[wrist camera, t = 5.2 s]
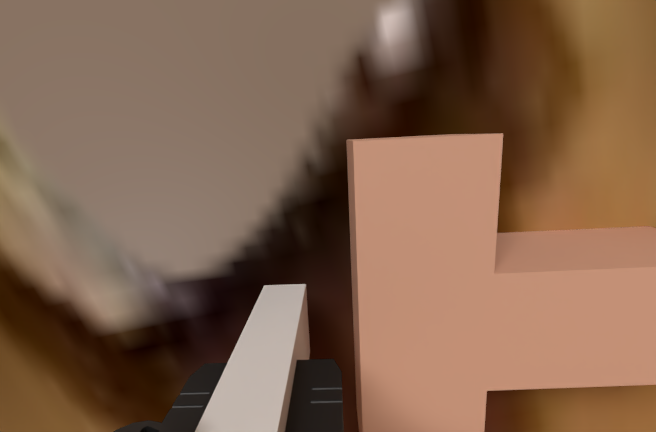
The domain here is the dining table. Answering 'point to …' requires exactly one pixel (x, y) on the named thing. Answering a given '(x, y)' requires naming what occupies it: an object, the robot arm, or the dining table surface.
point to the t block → (480, 290)
